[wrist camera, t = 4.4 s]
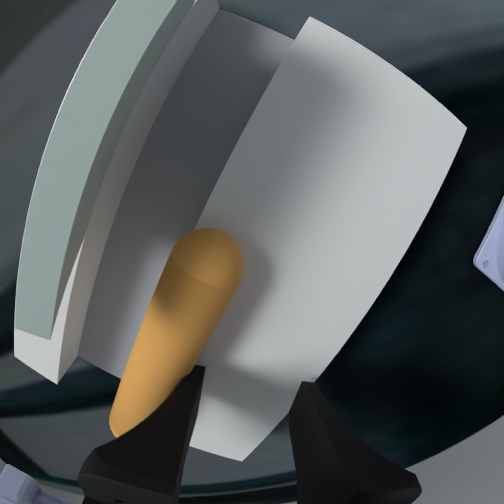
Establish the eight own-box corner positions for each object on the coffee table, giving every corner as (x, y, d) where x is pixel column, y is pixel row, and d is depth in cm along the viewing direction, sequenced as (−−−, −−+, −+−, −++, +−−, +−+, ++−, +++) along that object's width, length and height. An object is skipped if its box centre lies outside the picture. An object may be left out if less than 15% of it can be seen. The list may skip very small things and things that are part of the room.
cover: (237, -72, 3) (194, -89, 3) (50, 340, 6) (14, 328, 6) (192, 5, 8) (169, -5, 8) (83, 239, 11) (62, 231, 11)
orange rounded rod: (271, 260, 10) (204, 243, 8) (157, 451, 13) (113, 455, 11) (235, 225, 12) (176, 207, 10) (142, 415, 15) (101, 415, 13)
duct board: (426, 129, 13) (467, 127, 10) (242, 421, 19) (241, 461, 16) (164, -4, 11) (144, -36, 8) (41, 327, 17) (14, 355, 13)
